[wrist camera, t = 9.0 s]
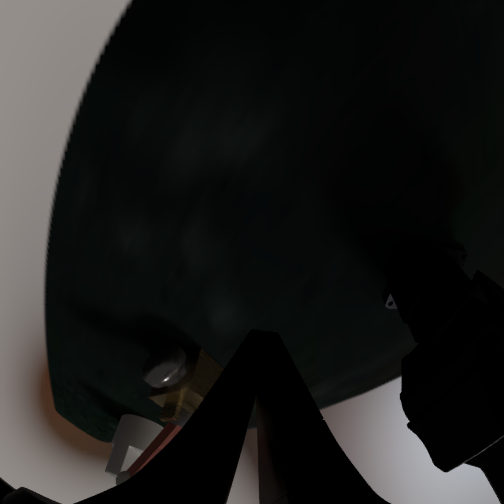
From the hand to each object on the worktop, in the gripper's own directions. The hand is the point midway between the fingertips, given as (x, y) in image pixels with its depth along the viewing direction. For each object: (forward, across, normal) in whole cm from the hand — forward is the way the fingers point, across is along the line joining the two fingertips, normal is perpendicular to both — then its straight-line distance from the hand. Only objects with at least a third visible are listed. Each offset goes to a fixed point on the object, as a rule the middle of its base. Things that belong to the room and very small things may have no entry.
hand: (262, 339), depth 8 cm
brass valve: (+12, +5, +20) cm, 24 cm away
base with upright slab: (+12, +16, +42) cm, 47 cm away
